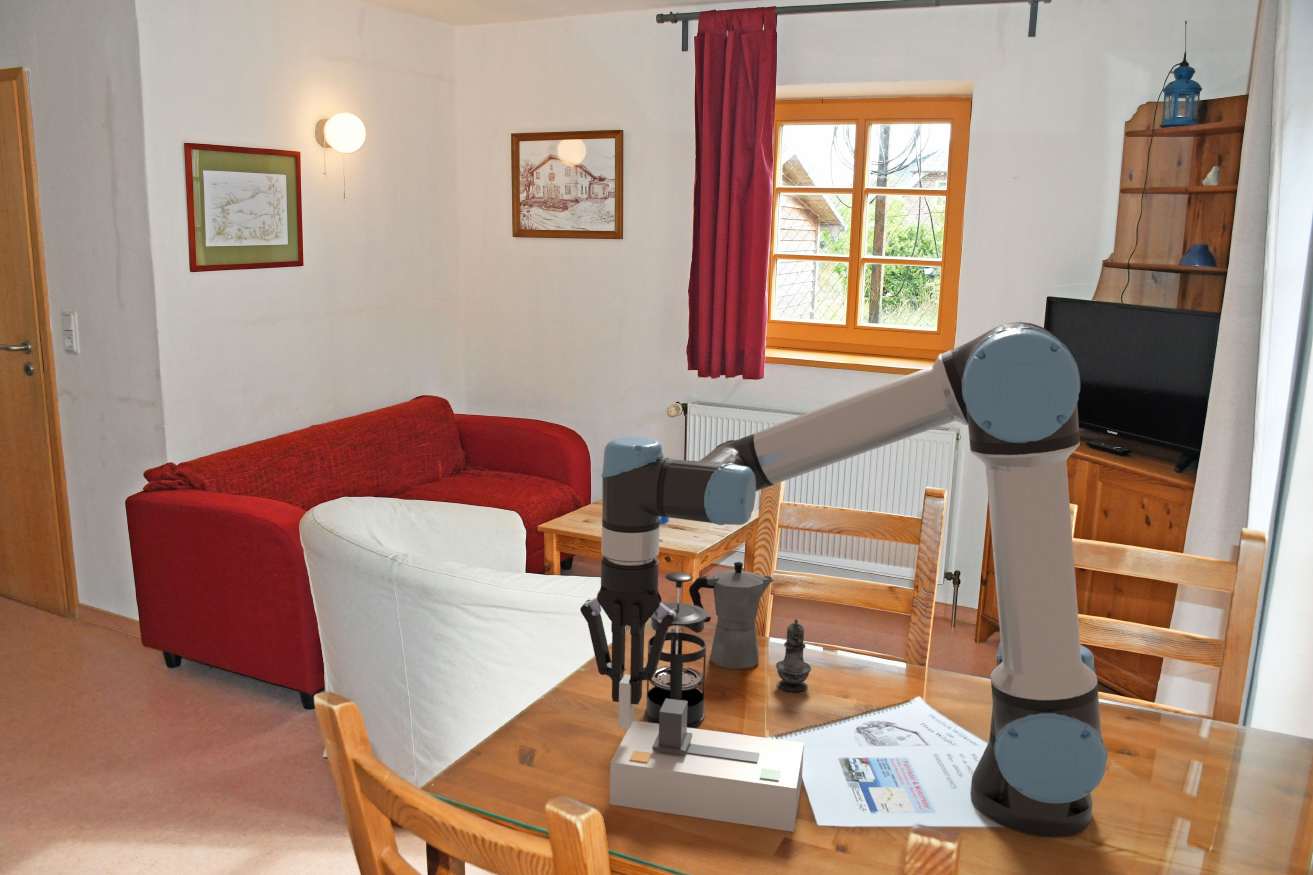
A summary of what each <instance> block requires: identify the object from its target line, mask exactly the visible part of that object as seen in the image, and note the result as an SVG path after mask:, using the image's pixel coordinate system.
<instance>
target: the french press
mask: <svg viewBox="0 0 1313 875" xmlns="http://www.w3.org/2000/svg"><path fill="white" fill-rule="evenodd" d="M693 578H694V577H693V575H692V574H690V573H688V572H687V573H686V572H682V571H673V572H669V573H667V574H665V579H666V580H668V581H670V582H674V583H675V587H676V589H677V597H676V601H677V602H668V603H666V602H665V603H663V604H664V605H665V606H667V607H668V608H669V609H671V608H674V609H676V610H677V616H676V617H675V619H674V621H673V622H672V624H671V625H670V626H669V627H673V626H676V627H675V628H672V629H670V631H668V632H667V635H666V639H665V642H666V641H670V653H667V652H664V651H662V652H661V656H660V659H659V661H661V662H667V663H669V665H667V666H666V665H665V666H660V667H657V670H656V672H655V674H654V676H653V677H652V679H651V680H646V706H645V710H644V717H645V719H646V720H647V722H649V723H657V724H659V711H660V709H661V707H662V705H663V703H664V701H665V699H666V698H667V699H675V700H683V701H688V707H687V728H694V727H697V726H698V725H700V724H701V723H703V721H705V719H706V718H705V717H706V713H705V710H704V708H705V686H706V660H707V657H706V655H707V643H706V640H704V638H702V637H701V636H698V635H696V634H693V633H689V632H683V631H684V630H683V629H680V627H685V628H688V629H689V630H690V631H693V632H694V633H701V632H703V630H704V628H705V622H704V620H706V618H707V617H708V612H707V610H706V609H703V608H704V607H703V608H701V607H698V606H695V605H693V603H692V604H691V603H685V602H680V601H681V600H680V598H681V588H682V587H683V583H686V582H691V581H692V580H693ZM657 616H658V613H657V611H655V612H654V614H653V615H652V616H651V617H650V618H649V619H651V622H650V623H651V624H650V626H651V628H652V630H654V631H655V632H656V630H657V628H658V626H659V624H660V623H659V622H658V621H657ZM654 637H655V635H652V636H651V637H650V638H649V639H648V640H647V641H648V642H647V659H648V658H649V654H650V651H651V647H652V644H653V640H654ZM683 642H688V643H693V644H696V645H697V646H699V647H701V649H700V650H698V651H695V652H690V653H683ZM702 658H703V666H702V668H703V669H702V673H701V672H700V671H698V670H697V669H696V668H695V669H694V668H692V667H688V666H685V665H683V664H685V663H687V664H688V663H692V662H697V661H699V660H701V659H702ZM649 682H650V683H649ZM649 684H651V685H652V687H651V688H650V689H649ZM701 685H702V690H700V689H699V687H701Z"/></svg>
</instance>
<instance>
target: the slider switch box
mask: <svg viewBox="0 0 1313 875" xmlns="http://www.w3.org/2000/svg"><path fill="white" fill-rule="evenodd" d="M687 732H688V733H692V739H691V741H690V744H689V746H688V749H687V751H686V754H685V755H681V754H674V753H667V752H659V751H652V746H653V744H654V742H655V740H656V738H657V736H658V734H659V724H657V723H650V722H649V721H640V720H634V721H633V723H632V725H631V727H630V729H627V731H626V733H625V734H624V736H623V738H622V740H621V742H620V744H619V746H618V748H617V749H616V751H615V753H614V754H613V756H612V759H611V760H610V764H609V770H610V771H609V772H610V773H609V805H612V806H619V807H626V808H631V809H632V808H633V809H638V810H645V811H652V812H659V813H665V814H673V815H679V816H684V817H685V816H686V817H691V818H693V817H694V818H699V819H705V820H712V821H719V822H724V823H731V824H737V825H738V824H739V825H744V826H753V827H757V828H758V827H759V828H765V829H771V830H779V831H784V832H793V833H794V832H795V827H796V822H797V821H796V820H797V814H798V810H799V809H798V808H799V802H800V796H801V788H802V783H803V782H802V781H803V764H804V748H805V742H802V741H801V742H800V741H793V740H792V741H791V740H785V739H779V738H770V737H762V736H755V735H748V734H747V735H746V734H741V733H731V732H726V731H725V732H724V731H717V730H709V729H703V728H702V729H701V728H694V727H691V728H687Z"/></svg>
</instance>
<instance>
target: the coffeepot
mask: <svg viewBox="0 0 1313 875" xmlns="http://www.w3.org/2000/svg"><path fill="white" fill-rule="evenodd" d="M733 564H734V570H733V569H732V570H731V569H730V570H725V571H721V572H716V573H714V574H713V576H704V577H701V576H700V577H697V578H696V579H695V580H694V581H693V583H692V584H691V585H690V586H689V588H688V589H689V590H688V592H689V595H690V597H691V602H692V605H695V606H698V607H701V608H703V609H704V606H703V604H702V599H701V598H702V597H701V593H700V592H699V591H700V590H701V589H702V588H703V589H704V588H706V589H713V597H714V598H713V599H714V606H715V615H716V616H717V620H716V621H717V622H716V624H715V630H714V636H713V639H712V640H713V642H712V646H711V651H710V654H709V655H710V657H709V660H710V661H711V662H712V663H713V664H714V665H715V666H718V667H720V668H724V669H729V670H745V669H749V668H750V669H751V668H754V667H756V666H757V665H758V664H759V661H760V652H759V643H758V636H757V635H758V634H757V625H756V619H757V615H758V610H759V604H760V601H761V600H760V599H761V598H762V596H763V594H764V593H765V591H766V590H767V589H768V587H769V585H770V584H771V583H772V582H774V581H775V580H774V579H773V578H772V577H771V576H768V575H765V574H756V573H754V572H752V571H746V570H745V571H744V570H743V566H744V563H743V562H740V561H736V562H734V563H733ZM704 610H705V609H704ZM711 620H712V617H711V616H707V618H706V620H704V623H709V622H710V621H711Z"/></svg>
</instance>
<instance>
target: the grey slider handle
mask: <svg viewBox="0 0 1313 875" xmlns="http://www.w3.org/2000/svg"><path fill="white" fill-rule="evenodd" d="M661 706H662V707H661V709H660V711H659V734H658V736H657V738H656V740H655V742H654V744H653V746H652V751H659V752H667V753H674V754H681V755H685V754H686V751H687V749H688V746H689V744H690V741H691V739H692V733H688V732H687V707H689V706H688V701H683V700H675V699H667V698H666V699H665V701H664V703H663V705H661Z"/></svg>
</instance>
